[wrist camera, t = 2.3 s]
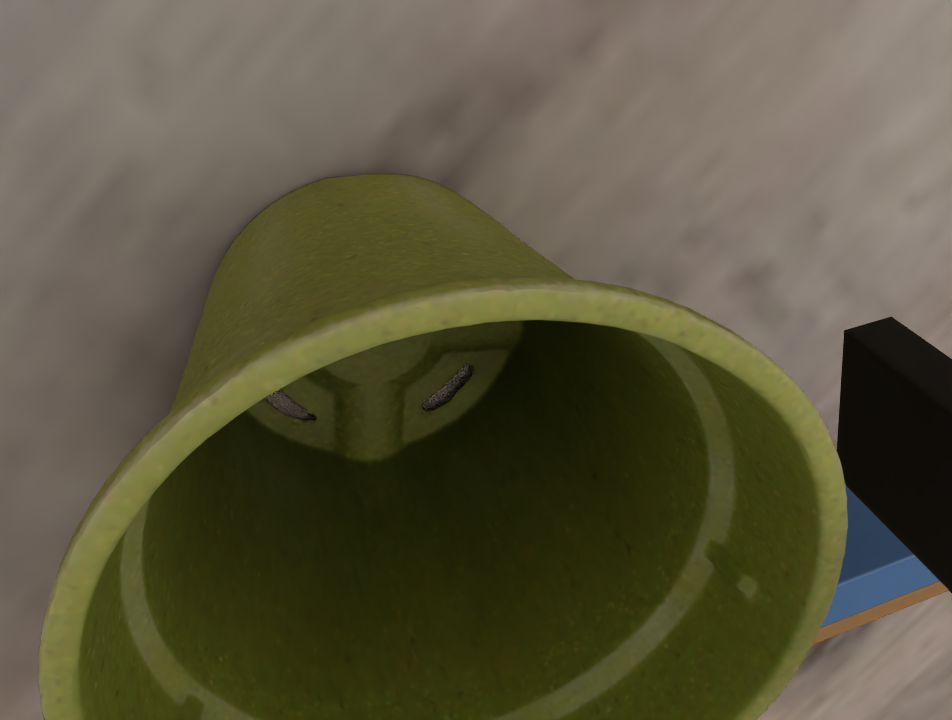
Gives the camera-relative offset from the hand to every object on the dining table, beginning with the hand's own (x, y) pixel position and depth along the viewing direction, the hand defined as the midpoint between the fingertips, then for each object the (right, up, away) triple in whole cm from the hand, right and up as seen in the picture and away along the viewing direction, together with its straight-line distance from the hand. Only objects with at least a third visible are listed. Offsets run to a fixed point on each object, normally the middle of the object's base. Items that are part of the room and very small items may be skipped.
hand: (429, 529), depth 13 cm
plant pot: (-1, +3, +5) cm, 6 cm away
